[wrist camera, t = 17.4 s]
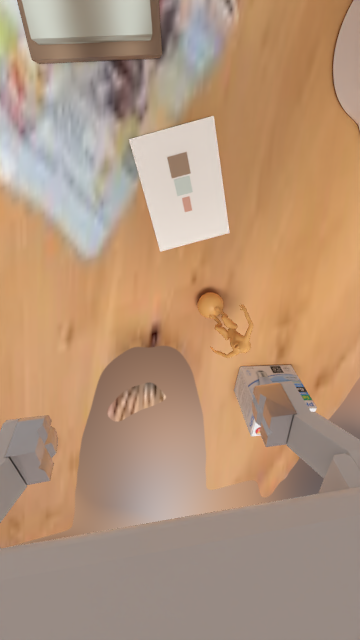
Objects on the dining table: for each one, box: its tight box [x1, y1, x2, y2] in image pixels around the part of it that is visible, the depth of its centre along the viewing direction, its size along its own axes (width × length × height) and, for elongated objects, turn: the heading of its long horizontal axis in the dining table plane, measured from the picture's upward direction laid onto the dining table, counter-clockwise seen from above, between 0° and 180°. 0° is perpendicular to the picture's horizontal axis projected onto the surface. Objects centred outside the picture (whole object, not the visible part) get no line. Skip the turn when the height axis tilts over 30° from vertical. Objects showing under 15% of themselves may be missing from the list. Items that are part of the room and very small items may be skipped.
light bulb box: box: [234, 365, 317, 436], centre depth 57 cm, size 11×7×11 cm, turn 87°
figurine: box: [198, 292, 253, 358], centre depth 45 cm, size 8×6×12 cm
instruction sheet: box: [129, 116, 230, 252], centre depth 39 cm, size 10×14×1 cm
